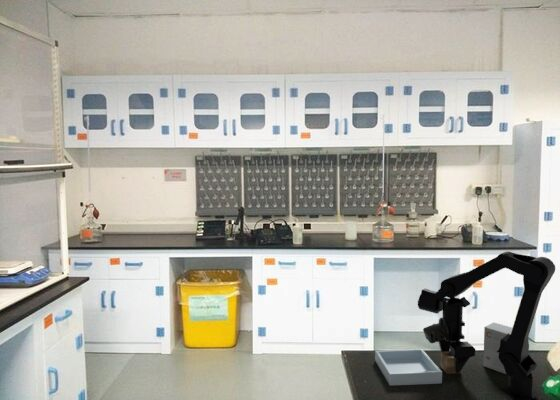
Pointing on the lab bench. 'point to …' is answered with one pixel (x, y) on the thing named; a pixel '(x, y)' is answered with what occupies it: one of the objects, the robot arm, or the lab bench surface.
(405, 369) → the sorting tray
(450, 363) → the walnut block
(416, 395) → the lab bench surface
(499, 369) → the small box
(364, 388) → the lab bench surface
